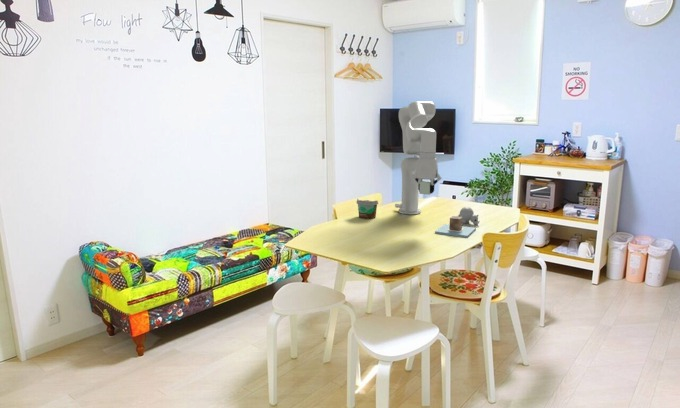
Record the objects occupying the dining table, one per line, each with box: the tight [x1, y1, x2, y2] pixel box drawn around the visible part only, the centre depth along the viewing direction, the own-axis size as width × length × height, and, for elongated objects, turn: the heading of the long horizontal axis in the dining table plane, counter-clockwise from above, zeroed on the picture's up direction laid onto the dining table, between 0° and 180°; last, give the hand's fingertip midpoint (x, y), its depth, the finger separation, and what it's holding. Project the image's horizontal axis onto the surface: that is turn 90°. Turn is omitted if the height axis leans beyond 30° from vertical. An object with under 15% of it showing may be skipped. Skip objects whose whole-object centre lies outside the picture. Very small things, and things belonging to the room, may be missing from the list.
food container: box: [356, 198, 379, 220], centre depth 274 cm, size 12×6×10 cm, turn 68°
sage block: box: [418, 179, 433, 196], centre depth 247 cm, size 5×5×6 cm
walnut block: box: [448, 215, 463, 231], centre depth 248 cm, size 5×5×6 cm
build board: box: [434, 223, 477, 239], centre depth 249 cm, size 16×16×1 cm
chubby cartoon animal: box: [457, 206, 480, 226], centre depth 263 cm, size 7×12×8 cm, turn 43°
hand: (426, 191), depth 247 cm, fingers closed on sage block, 5 cm apart
